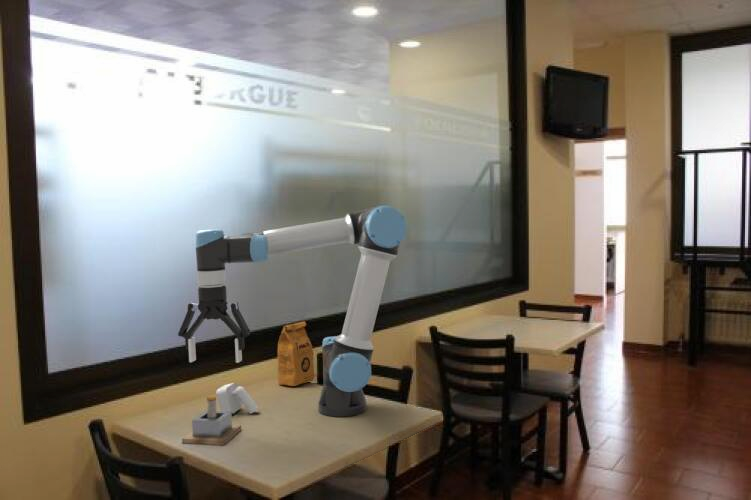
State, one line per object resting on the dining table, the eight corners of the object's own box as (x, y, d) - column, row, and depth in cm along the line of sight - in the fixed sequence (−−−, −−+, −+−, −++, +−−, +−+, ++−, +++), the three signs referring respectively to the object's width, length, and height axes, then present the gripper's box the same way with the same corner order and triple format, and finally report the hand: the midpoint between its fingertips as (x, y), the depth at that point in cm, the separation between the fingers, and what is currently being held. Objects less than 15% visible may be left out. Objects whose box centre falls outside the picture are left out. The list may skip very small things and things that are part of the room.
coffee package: (318, 381, 226) (317, 321, 225) (293, 389, 216) (292, 327, 215) (299, 377, 232) (297, 319, 231) (274, 385, 223) (272, 324, 221)
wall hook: (254, 416, 187) (245, 384, 187) (223, 422, 189) (215, 390, 189) (264, 407, 195) (256, 377, 195) (234, 414, 197) (226, 383, 197)
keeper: (241, 429, 177) (240, 390, 177) (224, 445, 166) (222, 403, 165) (201, 427, 179) (200, 389, 179) (182, 443, 168) (180, 402, 167)
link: (231, 427, 176) (231, 411, 176) (220, 437, 168) (219, 421, 168) (205, 426, 177) (204, 410, 177) (192, 436, 169) (192, 420, 169)
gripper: (259, 283, 173) (263, 358, 174) (176, 284, 177) (179, 357, 178) (250, 286, 165) (253, 365, 167) (163, 287, 169) (167, 364, 171)
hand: (215, 361), depth 172 cm, fingers open, 13 cm apart
